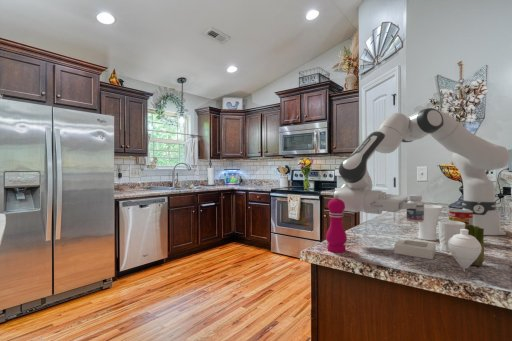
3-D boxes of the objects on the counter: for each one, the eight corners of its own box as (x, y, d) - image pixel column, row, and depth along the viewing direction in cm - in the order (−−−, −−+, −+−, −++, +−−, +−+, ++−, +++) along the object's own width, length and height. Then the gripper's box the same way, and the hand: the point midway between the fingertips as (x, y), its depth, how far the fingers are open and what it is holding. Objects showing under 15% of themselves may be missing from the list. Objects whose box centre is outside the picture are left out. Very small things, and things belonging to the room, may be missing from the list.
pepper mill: (348, 253, 98) (347, 195, 98) (326, 252, 99) (326, 195, 99) (345, 247, 105) (345, 193, 105) (325, 246, 106) (325, 193, 106)
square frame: (400, 245, 107) (400, 237, 107) (435, 251, 100) (435, 242, 100) (394, 253, 98) (394, 244, 98) (432, 259, 91) (432, 249, 91)
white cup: (457, 255, 96) (457, 225, 96) (433, 249, 103) (433, 221, 103) (470, 251, 100) (470, 223, 99) (446, 246, 107) (446, 219, 106)
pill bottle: (403, 219, 102) (403, 194, 102) (417, 219, 102) (417, 194, 102) (412, 222, 96) (412, 196, 96) (427, 222, 97) (427, 196, 97)
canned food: (449, 236, 121) (449, 208, 120) (472, 239, 116) (472, 210, 116) (448, 240, 114) (448, 211, 114) (473, 243, 110) (473, 212, 110)
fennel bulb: (486, 268, 83) (486, 227, 83) (466, 266, 85) (466, 226, 85) (480, 262, 88) (480, 223, 88) (461, 260, 90) (461, 222, 90)
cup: (448, 240, 115) (448, 207, 114) (429, 243, 111) (429, 208, 111) (425, 234, 124) (425, 203, 124) (407, 236, 121) (407, 205, 121)
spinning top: (452, 274, 78) (452, 231, 78) (444, 265, 85) (444, 225, 85) (486, 278, 76) (486, 233, 75) (475, 268, 83) (475, 227, 83)
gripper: (368, 196, 99) (413, 198, 90) (382, 191, 115) (422, 193, 107) (368, 214, 99) (413, 218, 90) (382, 207, 115) (422, 210, 107)
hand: (418, 205), depth 99 cm, fingers closed on pill bottle, 5 cm apart
